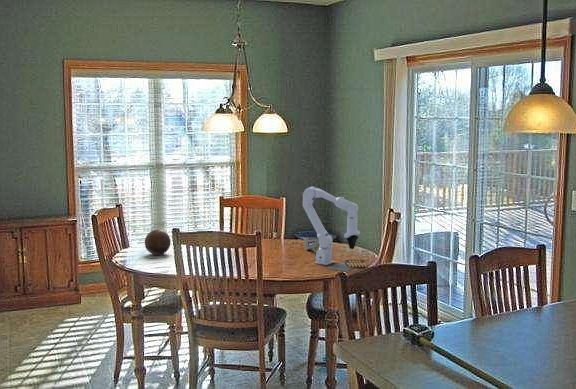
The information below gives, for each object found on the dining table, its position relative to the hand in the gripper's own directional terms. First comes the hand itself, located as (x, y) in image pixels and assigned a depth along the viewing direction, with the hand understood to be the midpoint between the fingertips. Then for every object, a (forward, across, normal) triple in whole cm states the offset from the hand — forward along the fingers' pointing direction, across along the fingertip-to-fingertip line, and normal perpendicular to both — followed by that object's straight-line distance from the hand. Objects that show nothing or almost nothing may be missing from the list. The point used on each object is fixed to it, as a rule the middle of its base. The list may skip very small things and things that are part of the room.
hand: (351, 248), depth 370 cm
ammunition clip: (+8, +2, -1) cm, 8 cm away
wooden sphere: (+9, -47, +105) cm, 116 cm away
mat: (+9, -9, 0) cm, 12 cm away
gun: (+9, +14, +35) cm, 39 cm away
